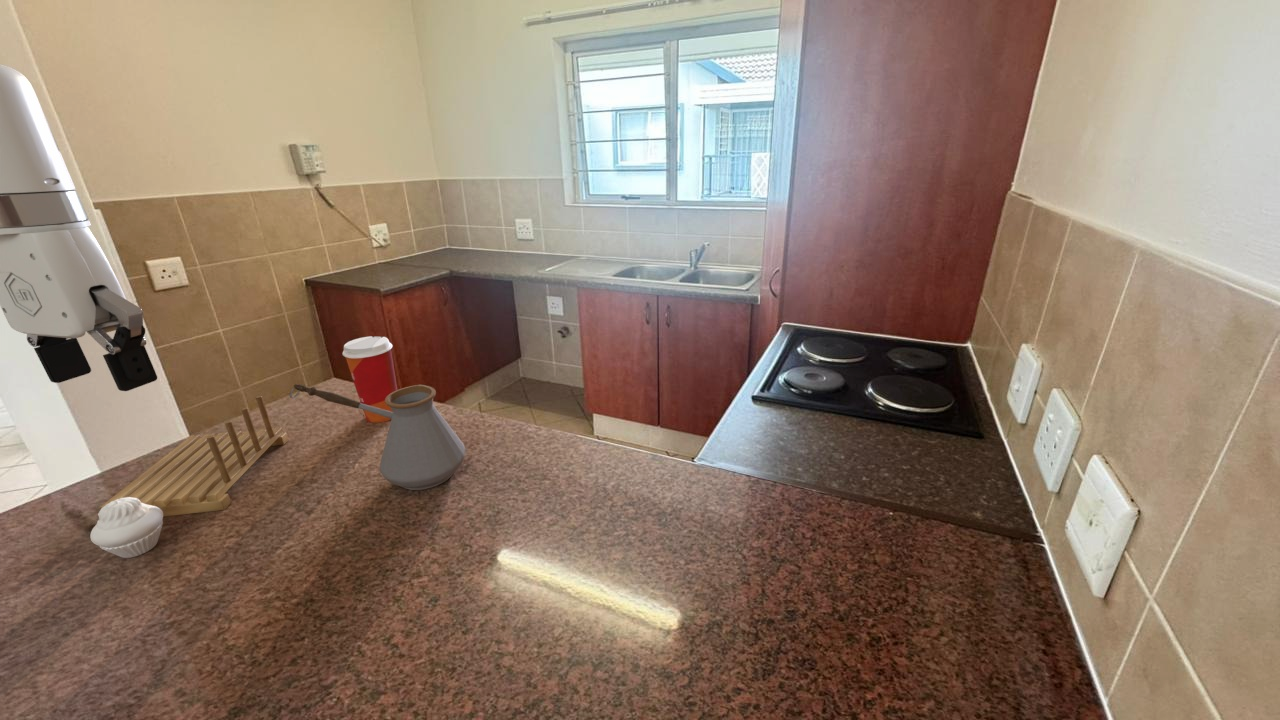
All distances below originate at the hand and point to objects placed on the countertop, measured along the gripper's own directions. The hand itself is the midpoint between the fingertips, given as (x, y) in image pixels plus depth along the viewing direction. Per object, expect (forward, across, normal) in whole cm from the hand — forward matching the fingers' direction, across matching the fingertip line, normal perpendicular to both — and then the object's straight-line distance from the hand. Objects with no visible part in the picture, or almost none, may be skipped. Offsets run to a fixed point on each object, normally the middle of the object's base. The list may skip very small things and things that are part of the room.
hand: (105, 381), depth 53 cm
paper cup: (+22, +2, +33) cm, 40 cm away
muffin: (+22, -4, -2) cm, 22 cm away
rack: (+21, -10, +11) cm, 26 cm away
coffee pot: (+22, +16, +18) cm, 32 cm away
